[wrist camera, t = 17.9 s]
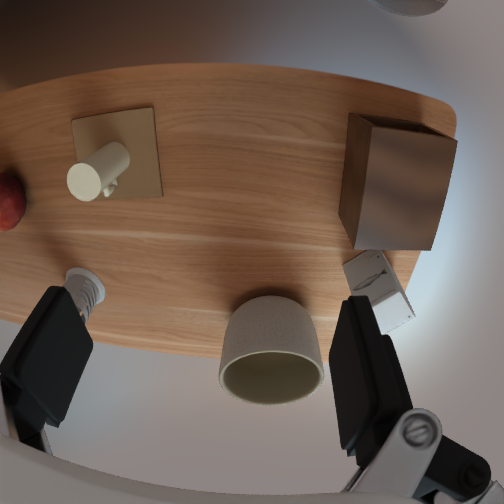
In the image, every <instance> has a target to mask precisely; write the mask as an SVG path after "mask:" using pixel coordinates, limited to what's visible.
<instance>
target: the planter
mask: <svg viewBox="0 0 504 504" xmlns="http://www.w3.org/2000/svg"><path fill="white" fill-rule="evenodd" d="M323 379H324V369H323V363H322V358H321V353H320V347H319V342H318V337H317V333H316V329H315V326H314V324H313V321H312V319H311V317H310V315H309V313H308V312H307V311H306V310H305V309H304V308H303V307H302V306H301V305H300V304H298V303H297V302H295V301H293V300H291V299H288V298H285V297H281V296H262V297H257V298H254V299H252V300H249V301H247V302H245V303H244V304H242V305H241V306H240V307H239V308H238V309H237V310H236V311H235V312H234V313H233V315H232V316H231V318H230V320H229V323H228V326H227V329H226V332H225V337H224V343H223V349H222V355H221V362H220V368H219V382H220V385H221V387H222V388H223V389H224V390H225V391H226V392H227V393H228V394H229V395H231V396H233V397H234V398H236V399H238V400H241V401H243V402H247V403H251V404H257V405H269V406H271V405H283V404H289V403H293V402H296V401H299V400H302V399H304V398H306V397H308V396H309V395H311V394H313V393H314V392H315V391H316V390H317V389H318V388H319V387H320V386H321V384H322V382H323Z"/></svg>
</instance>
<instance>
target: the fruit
mask: <svg viewBox="0 0 504 504" xmlns="http://www.w3.org/2000/svg"><path fill="white" fill-rule="evenodd" d="M26 203H27V201H26V196H25V191H24V190H23V187H22V186H21V184H20V183H19V181H18V180H17V179H16V177H14V176H13V175H11V174H9V173H6V172H3V173H0V231H7V230H10V229H12V228H14V227H15V226H16V225H17V224H18V223H19V221H20V220H21V218H22V216H23V215H24V213H25V210H26Z"/></svg>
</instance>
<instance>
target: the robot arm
mask: <svg viewBox="0 0 504 504" xmlns="http://www.w3.org/2000/svg"><path fill="white" fill-rule="evenodd" d="M92 349H93V341H92V339H91V337H90V335H89V333H88V331H87V329H86V327H85V325H84V323H83V320H82V318H81V316H80V314H79V312H78V310H77V308H76V305H75V303H74V301H73V299H72V296H71V294H70V292H68V291H67V289H66V288H65V287H60V286H50V287H49V288H48V289H47V291H46V292H45V293H44V295H43V296H42V298H41V299H40V301H39V302H38V304H37V305H36V307H35V308H34V310H33V311H32V313H31V314H30V316H29V317H28V319H27V320H26V322H25V323H24V325H23V326H22V328H21V330H20V332H19V333H18V335H17V336H16V338H15V339H14V341H13V343H12V345H11V346H10V348H9V350H8V351H7V353H6V355H5V356H4V358H3V360H2V362H1V364H0V373H1V374H0V504H504V488H503V487H502V486H501V485H500V484H499V483H498V481H494V482H493V481H492V480H491V470H490V466H489V464H488V463H487V461H486V460H485V459H483V458H482V457H481V456H479V455H477V454H475V453H474V452H471V451H470V450H468V449H466V448H465V447H463V446H461V445H459V444H458V443H456V442H454V441H453V440H451V439H449V438H447V437H446V436H444V435H442V425H441V423H440V420H439V419H438V418H437V416H436V415H435V414H433V413H432V412H430V411H429V410H426V409H421V408H415V409H413V405H412V402H411V399H410V395H409V392H408V388H407V385H406V382H405V379H404V376H403V372H402V369H401V366H400V363H399V360H398V357H397V354H396V351H395V348H394V345H393V342H392V340H391V338H390V336H389V335H386V334H385V335H381V332H380V329H379V326H378V323H377V320H376V317H375V314H374V311H373V309H372V306H371V303H370V300H369V298H368V296H367V295H360V296H349V298H348V300H344V301H343V302H342V306H341V310H340V314H339V318H338V322H337V326H336V330H335V333H334V337H333V341H332V345H331V348H330V352H329V366H330V373H331V379H332V385H333V392H334V399H335V406H336V413H337V420H338V428H339V435H340V443H341V448H342V449H343V450H345V449H347V456H356V462H357V465H358V466H359V467H358V469H357V470H356V472H355V473H354V474H353V476H352V477H351V478H350V480H349V481H348V482H347V484H346V485H345V486H344V487H343V489H342V490H341V491H340V492H339V493H319V494H304V495H303V494H301V495H245V494H226V493H213V492H203V491H195V490H187V489H179V488H173V487H167V486H161V485H155V484H150V483H145V482H140V481H135V480H131V479H127V478H123V477H119V476H115V475H111V474H107V473H104V472H100V471H97V470H93V469H90V468H87V467H84V466H80V465H78V464H75V463H71V462H69V461H66V460H63V459H60V458H58V457H55V456H53V454H52V451H51V448H50V445H49V442H48V439H47V436H46V433H45V430H44V424H45V422H46V423H47V424H48V425H51V426H54V427H57V428H58V427H59V425H60V422H62V421H63V420H64V418H65V416H66V413H67V410H68V408H69V405H70V402H71V400H72V397H73V395H74V392H75V390H76V387H77V385H78V383H79V380H80V378H81V375H82V373H83V370H84V368H85V366H86V363H87V361H88V359H89V357H90V354H91V352H92Z"/></svg>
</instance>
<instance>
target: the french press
mask: <svg viewBox="0 0 504 504" xmlns="http://www.w3.org/2000/svg"><path fill="white" fill-rule="evenodd" d="M65 278H66V282H65V283H66V284H64V285H63V287H65V288H66V289H67V291H68V292H70V294H71V296H72V299H73V301H74V303H75V305H76V308H77V310H78V312H79V313H80V311H82V312H83V314H82V316H81V318H82V320H83V323H84V325H85V323H86V321H87V319H88V318H89V316H90V313H91V312H92V309H93V308H94V306H95V305H96V304H98V303H100V302H102V301H103V299H104V298H105V289H104V286H103V284H102V282H101V281H100V280H99V279H98V277H97V276H96V275H94V274H93V273H91V272H90V271H89V270H86V269H83V268H80V267H78V268H71V269H70V270H68V271H67V274H66V276H65ZM85 303H87V304H88V305H87V307H86V304H85Z"/></svg>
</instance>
